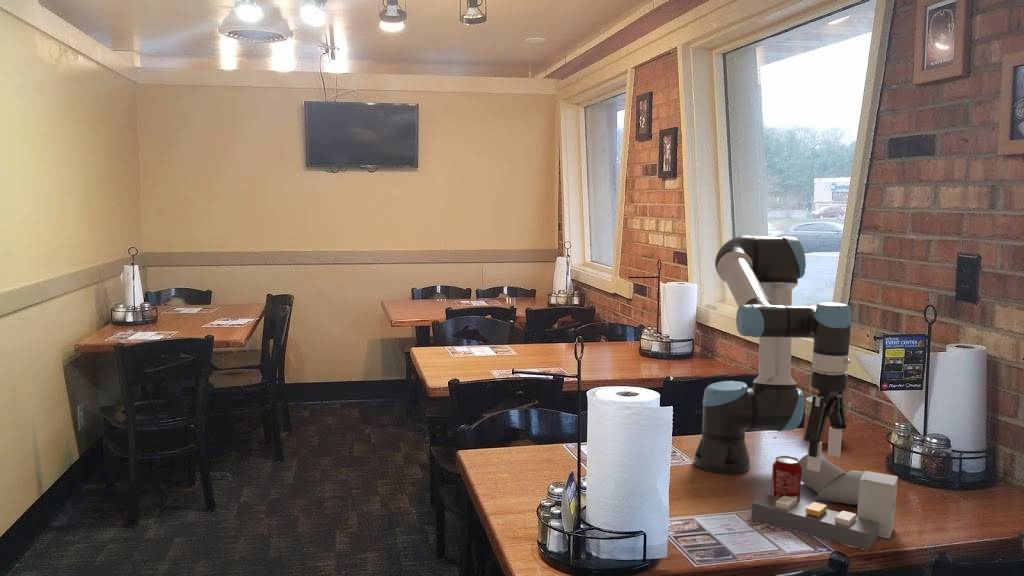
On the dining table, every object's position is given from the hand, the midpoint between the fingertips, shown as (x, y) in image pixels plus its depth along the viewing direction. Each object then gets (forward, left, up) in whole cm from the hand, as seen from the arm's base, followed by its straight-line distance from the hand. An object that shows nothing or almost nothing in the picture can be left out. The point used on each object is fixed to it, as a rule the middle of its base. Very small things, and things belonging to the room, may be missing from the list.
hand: (823, 462), depth 186 cm
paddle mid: (0, -3, -11) cm, 11 cm away
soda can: (-11, +6, -15) cm, 20 cm away
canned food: (-23, +70, -15) cm, 75 cm away
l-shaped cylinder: (-4, +22, -16) cm, 27 cm away
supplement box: (+10, +6, -15) cm, 20 cm away
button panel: (-1, -3, -15) cm, 15 cm away
